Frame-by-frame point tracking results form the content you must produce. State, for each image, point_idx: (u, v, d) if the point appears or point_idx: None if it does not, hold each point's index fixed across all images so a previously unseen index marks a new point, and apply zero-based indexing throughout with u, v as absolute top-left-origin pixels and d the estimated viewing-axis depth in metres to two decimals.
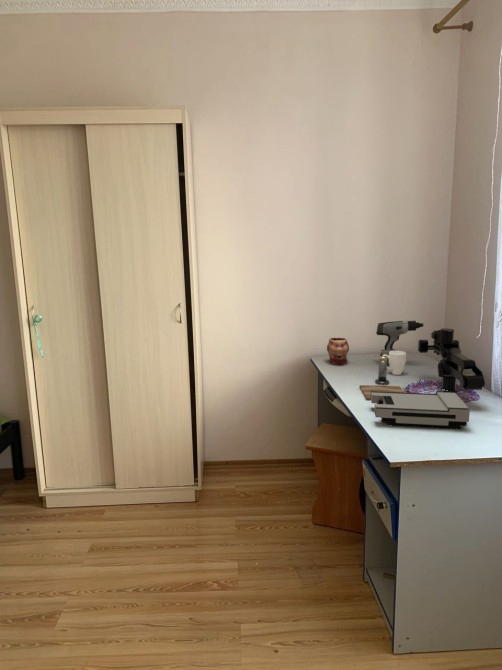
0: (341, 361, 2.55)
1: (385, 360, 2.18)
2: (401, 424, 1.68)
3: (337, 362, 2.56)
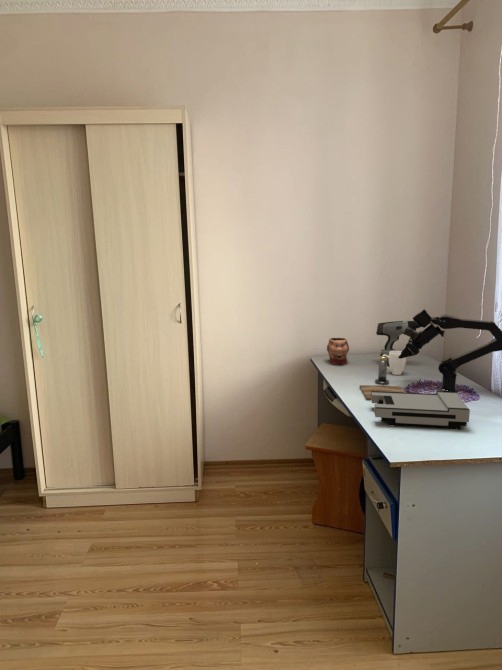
0: (341, 361, 2.55)
1: (385, 360, 2.18)
2: (401, 424, 1.69)
3: (337, 362, 2.56)
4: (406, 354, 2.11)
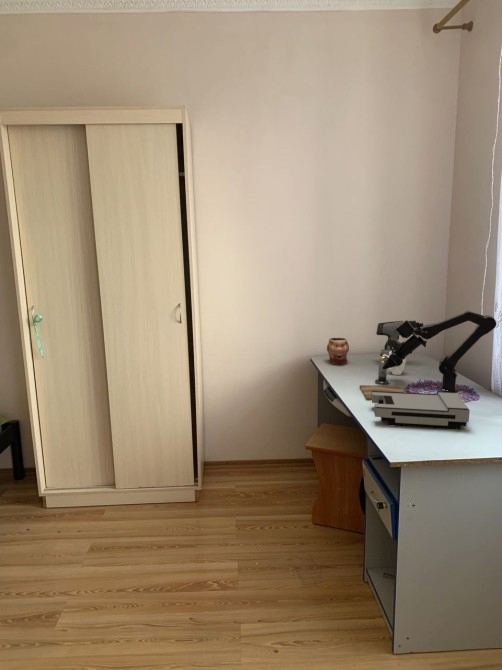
0: (341, 361, 2.55)
1: (385, 360, 2.18)
2: (401, 424, 1.69)
3: (337, 362, 2.56)
4: (390, 365, 2.13)
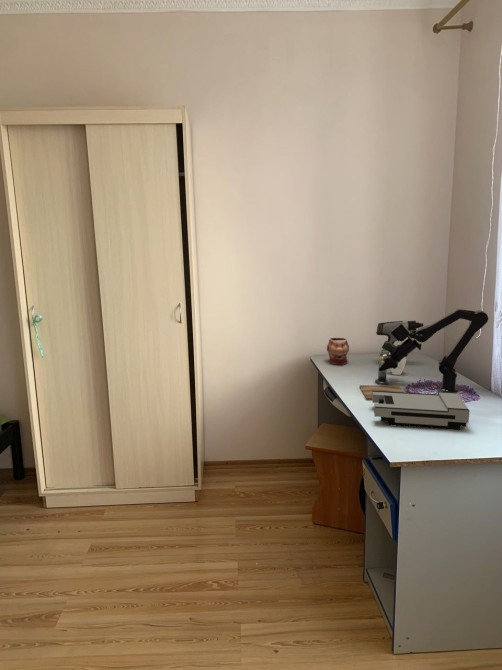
0: (341, 361, 2.55)
1: None
2: (400, 424, 1.69)
3: (337, 362, 2.56)
4: (386, 367, 2.17)
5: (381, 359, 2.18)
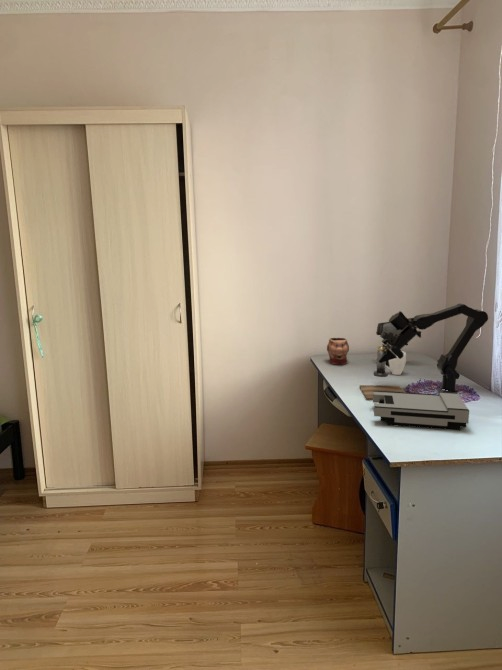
0: (341, 361, 2.55)
1: (385, 351, 2.08)
2: (400, 423, 1.69)
3: (337, 362, 2.56)
4: (387, 357, 2.06)
5: (381, 350, 2.08)
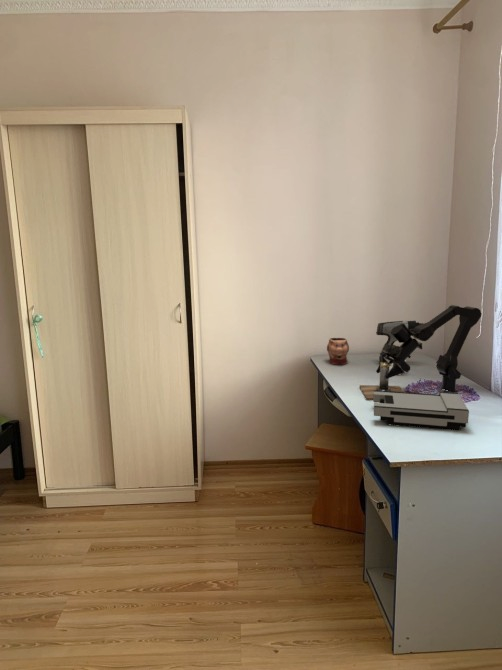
0: (341, 361, 2.55)
1: (388, 366, 2.02)
2: (399, 423, 1.69)
3: (337, 362, 2.56)
4: (394, 373, 1.98)
5: (385, 366, 2.01)
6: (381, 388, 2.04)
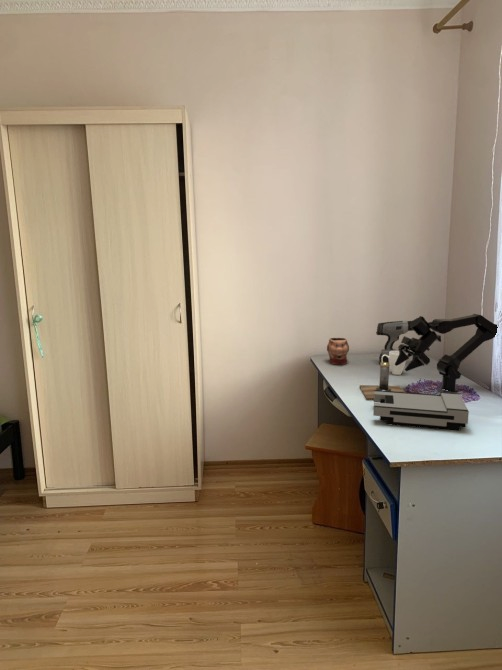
0: (341, 361, 2.55)
1: (388, 366, 2.02)
2: (399, 423, 1.69)
3: (337, 362, 2.56)
4: (414, 365, 1.99)
5: (385, 366, 2.01)
6: (381, 388, 2.04)
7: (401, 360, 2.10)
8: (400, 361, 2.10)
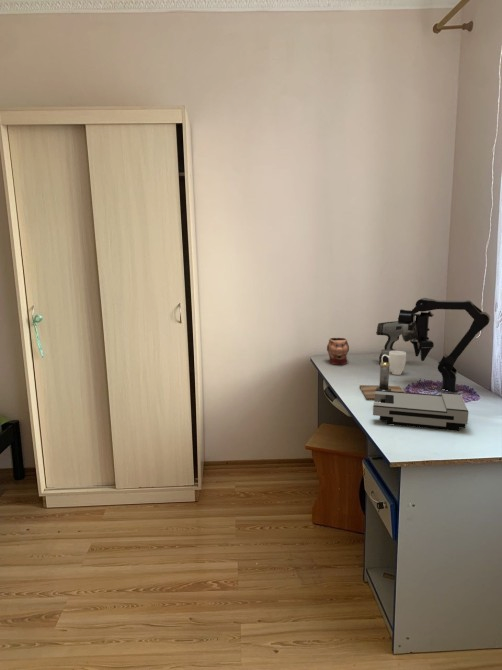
0: (341, 361, 2.55)
1: (388, 366, 2.02)
2: (398, 423, 1.69)
3: (337, 362, 2.56)
4: (425, 353, 2.09)
5: (385, 366, 2.01)
6: (381, 388, 2.04)
7: (417, 349, 2.20)
8: (418, 350, 2.20)
